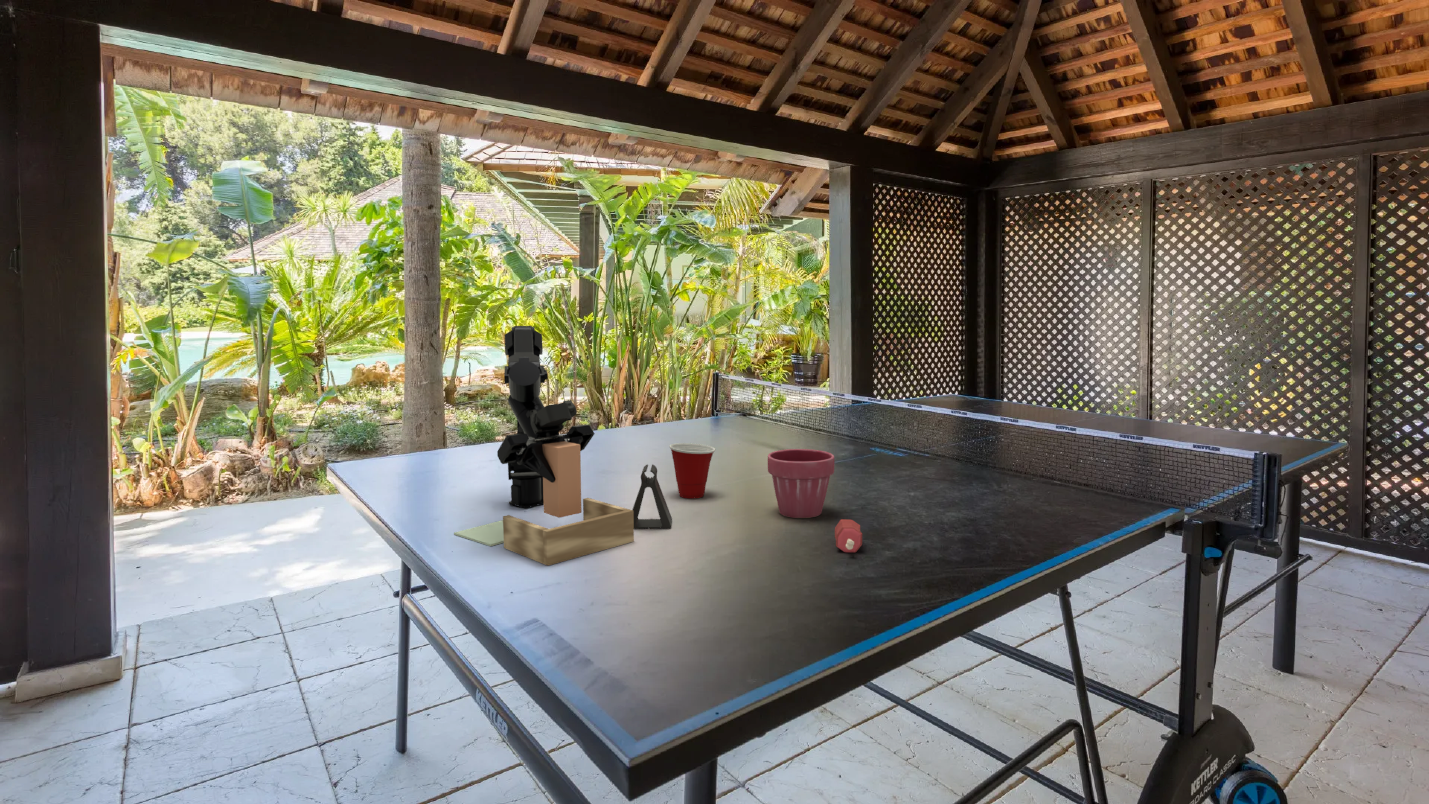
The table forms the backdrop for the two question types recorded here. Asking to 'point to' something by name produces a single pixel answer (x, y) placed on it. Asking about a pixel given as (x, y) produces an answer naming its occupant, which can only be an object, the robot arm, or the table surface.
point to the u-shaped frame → (571, 534)
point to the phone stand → (660, 501)
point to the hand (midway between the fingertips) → (566, 478)
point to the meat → (848, 536)
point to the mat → (485, 534)
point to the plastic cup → (691, 468)
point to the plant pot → (800, 480)
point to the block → (563, 479)
